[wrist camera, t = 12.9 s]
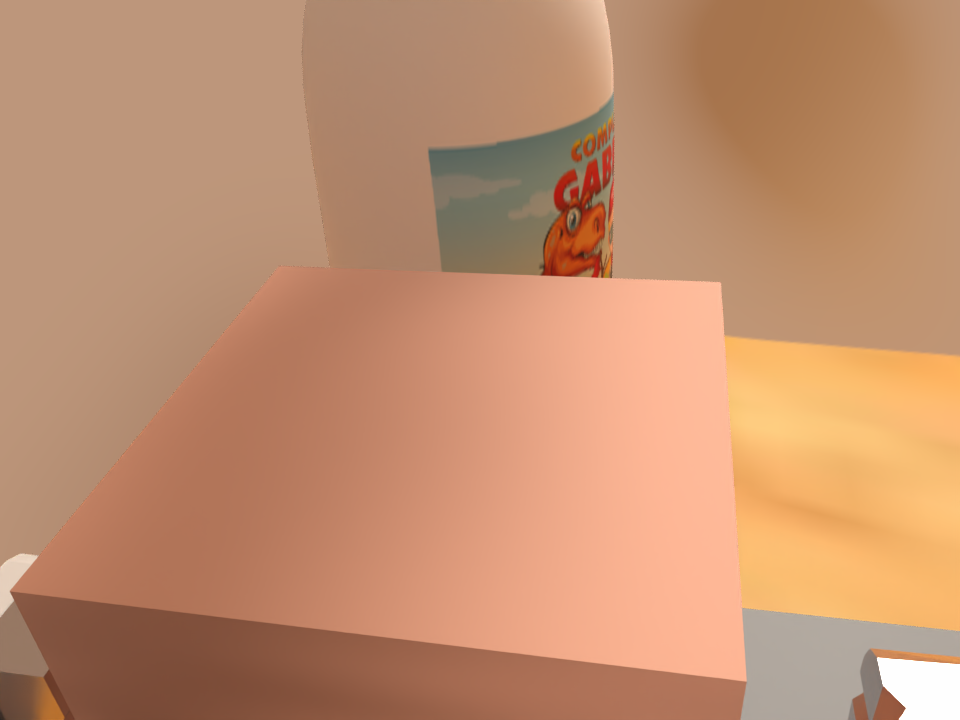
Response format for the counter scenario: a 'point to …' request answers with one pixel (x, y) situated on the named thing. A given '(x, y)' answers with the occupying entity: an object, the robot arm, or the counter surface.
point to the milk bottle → (462, 134)
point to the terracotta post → (417, 513)
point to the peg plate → (819, 661)
